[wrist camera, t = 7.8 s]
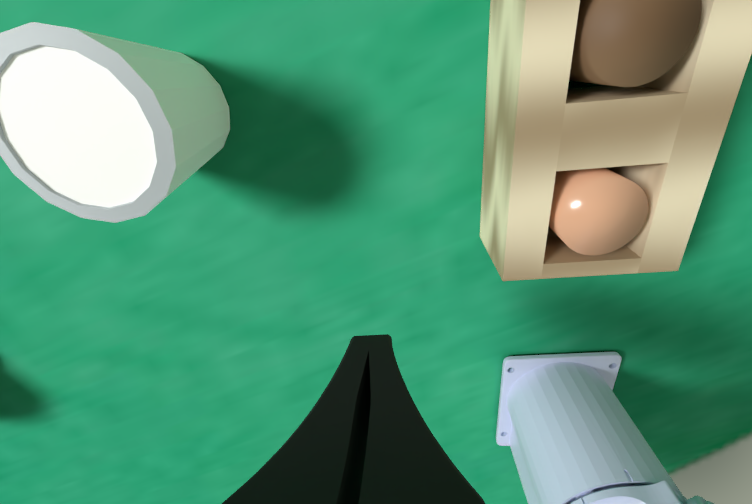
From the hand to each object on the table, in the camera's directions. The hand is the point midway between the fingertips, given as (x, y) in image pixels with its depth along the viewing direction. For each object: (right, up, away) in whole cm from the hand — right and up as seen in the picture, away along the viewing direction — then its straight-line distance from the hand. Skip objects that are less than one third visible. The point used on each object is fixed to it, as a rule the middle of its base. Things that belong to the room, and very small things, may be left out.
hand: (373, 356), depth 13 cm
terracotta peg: (+10, +7, +7) cm, 14 cm away
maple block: (+10, +11, +6) cm, 15 cm away
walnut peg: (+9, +14, +4) cm, 17 cm away
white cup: (-10, +11, +6) cm, 16 cm away
